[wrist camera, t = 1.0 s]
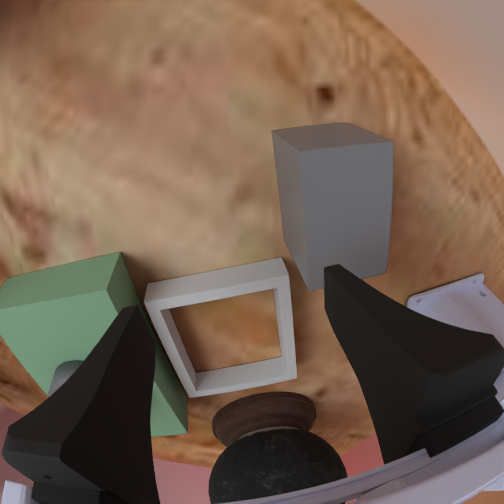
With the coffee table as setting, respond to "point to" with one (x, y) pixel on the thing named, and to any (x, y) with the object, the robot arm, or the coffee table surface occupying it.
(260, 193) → the coffee table surface
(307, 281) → the chute block
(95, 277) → the green block with dome
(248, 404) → the black ball on stand
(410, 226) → the coffee table surface
